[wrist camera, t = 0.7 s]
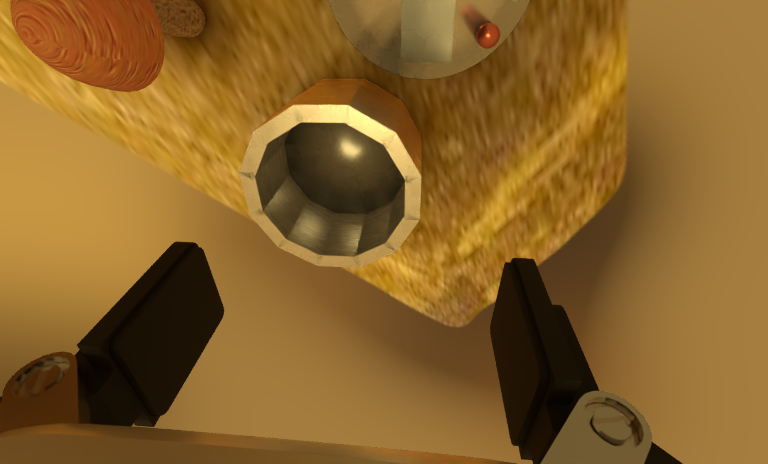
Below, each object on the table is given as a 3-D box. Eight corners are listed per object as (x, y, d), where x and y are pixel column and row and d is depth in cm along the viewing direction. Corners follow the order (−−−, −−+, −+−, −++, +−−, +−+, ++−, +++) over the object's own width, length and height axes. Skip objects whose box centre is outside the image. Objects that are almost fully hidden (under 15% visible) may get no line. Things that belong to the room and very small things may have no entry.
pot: (267, 78, 33) (221, 104, 26) (424, 78, 32) (424, 105, 24) (291, 213, 41) (261, 263, 33) (418, 217, 40) (417, 270, 32)
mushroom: (120, 7, 31) (-84, 19, 18) (171, -72, 28) (-35, -122, 15) (198, 85, 34) (68, 141, 22) (252, 22, 31) (135, 45, 18)
